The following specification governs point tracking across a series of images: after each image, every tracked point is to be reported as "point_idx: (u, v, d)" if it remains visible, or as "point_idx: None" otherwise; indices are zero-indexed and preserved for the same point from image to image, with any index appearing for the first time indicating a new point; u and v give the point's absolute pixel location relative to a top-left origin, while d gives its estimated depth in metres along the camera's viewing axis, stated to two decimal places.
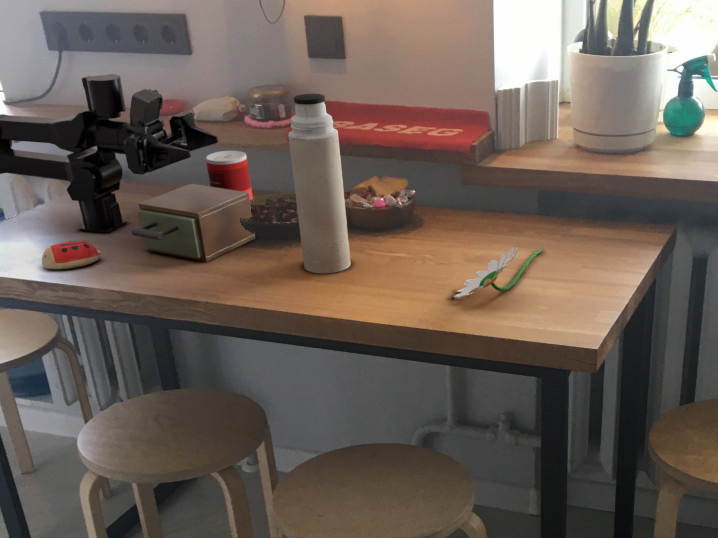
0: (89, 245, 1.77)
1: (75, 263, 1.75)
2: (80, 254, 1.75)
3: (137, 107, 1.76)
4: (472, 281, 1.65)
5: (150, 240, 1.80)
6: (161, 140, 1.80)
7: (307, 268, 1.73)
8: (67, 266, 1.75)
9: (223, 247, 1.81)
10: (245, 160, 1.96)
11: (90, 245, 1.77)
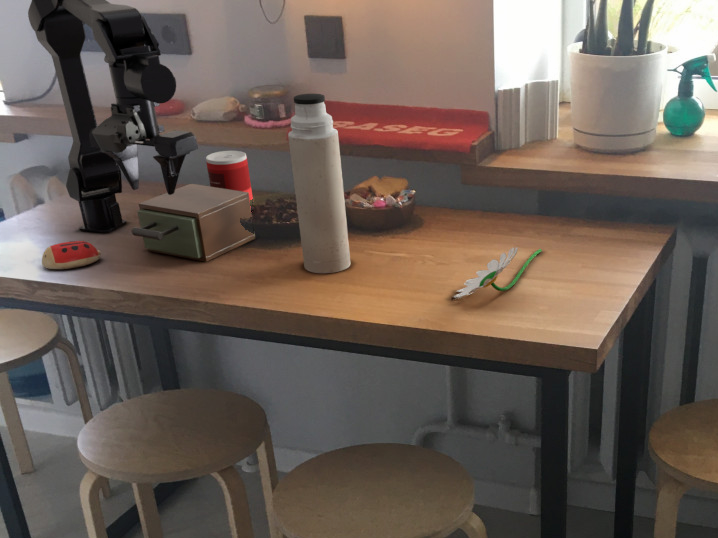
0: (89, 245, 1.77)
1: (75, 263, 1.75)
2: (80, 254, 1.75)
3: None
4: (472, 281, 1.65)
5: (150, 240, 1.80)
6: None
7: (307, 268, 1.73)
8: (67, 266, 1.75)
9: (223, 247, 1.81)
10: (245, 160, 1.96)
11: (90, 245, 1.77)
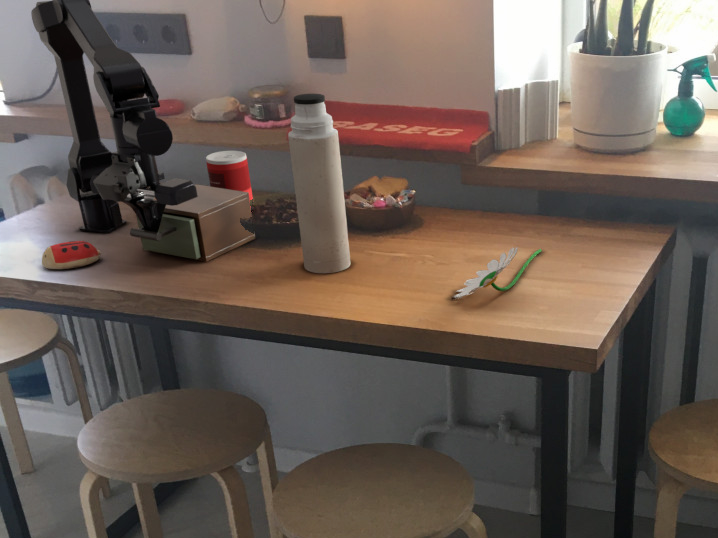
0: (89, 245, 1.77)
1: (75, 263, 1.75)
2: (80, 254, 1.75)
3: None
4: (472, 281, 1.65)
5: (148, 241, 1.79)
6: None
7: (307, 268, 1.73)
8: (67, 266, 1.75)
9: (223, 247, 1.81)
10: (245, 160, 1.96)
11: (90, 245, 1.77)
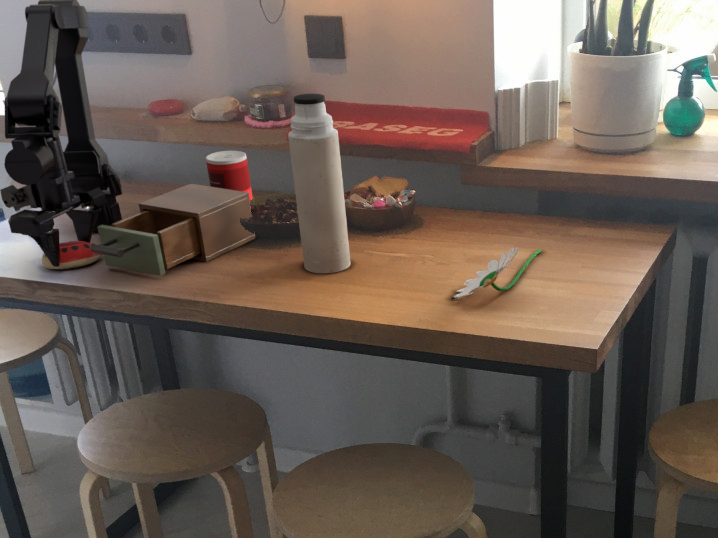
0: (89, 245, 1.77)
1: (75, 263, 1.75)
2: (80, 254, 1.75)
3: None
4: (472, 281, 1.65)
5: (111, 257, 1.73)
6: None
7: (307, 268, 1.73)
8: (67, 266, 1.75)
9: (223, 247, 1.81)
10: (245, 160, 1.96)
11: (90, 245, 1.77)
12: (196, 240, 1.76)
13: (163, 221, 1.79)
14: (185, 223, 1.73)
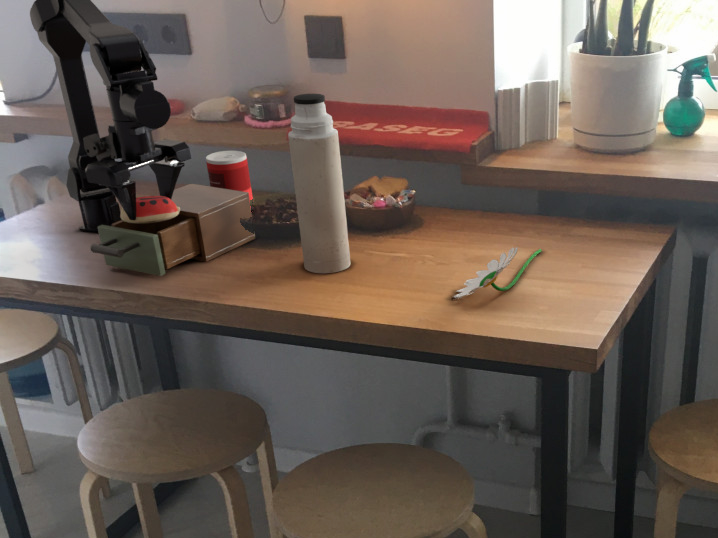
0: (168, 201, 1.71)
1: (152, 218, 1.70)
2: (158, 209, 1.70)
3: None
4: (472, 281, 1.65)
5: (111, 257, 1.73)
6: None
7: (307, 268, 1.73)
8: (144, 221, 1.70)
9: (223, 247, 1.81)
10: (245, 160, 1.96)
11: (169, 201, 1.72)
12: (196, 240, 1.76)
13: (163, 221, 1.79)
14: (185, 223, 1.73)
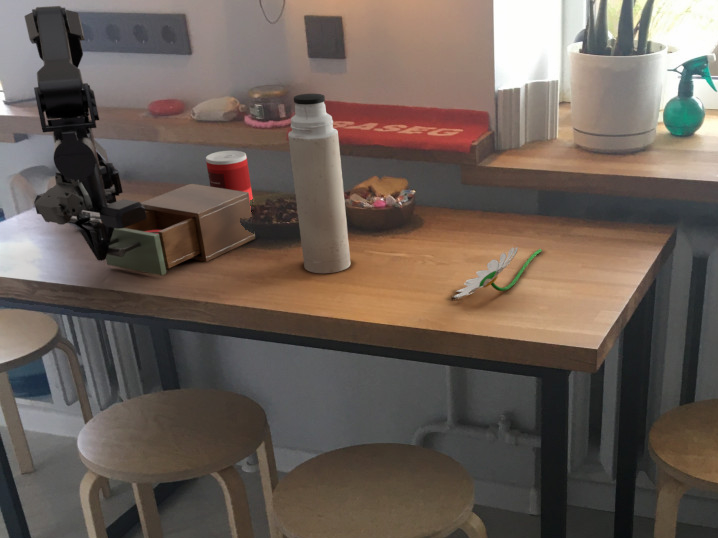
0: None
1: None
2: None
3: None
4: (472, 281, 1.65)
5: (112, 256, 1.73)
6: None
7: (307, 268, 1.73)
8: None
9: (223, 247, 1.81)
10: (245, 160, 1.96)
11: None
12: (197, 240, 1.76)
13: (164, 220, 1.79)
14: (186, 223, 1.73)
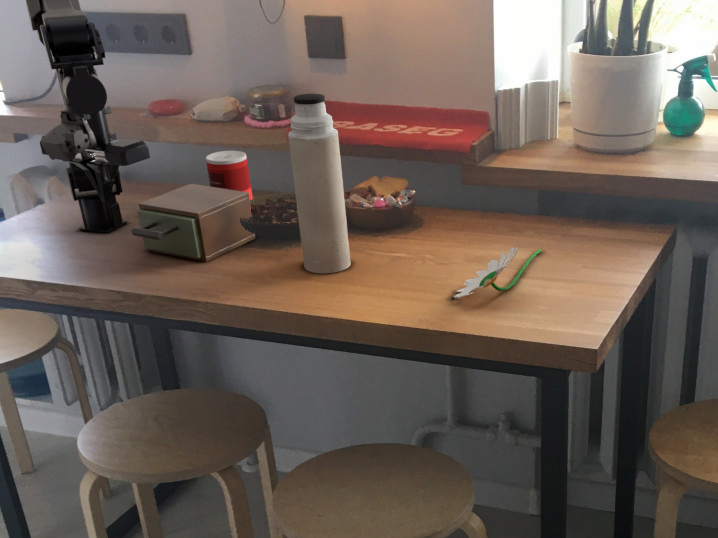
0: None
1: None
2: None
3: None
4: (472, 281, 1.65)
5: (150, 240, 1.80)
6: None
7: (307, 268, 1.73)
8: None
9: (223, 247, 1.81)
10: (245, 160, 1.96)
11: None
12: None
13: None
14: None
